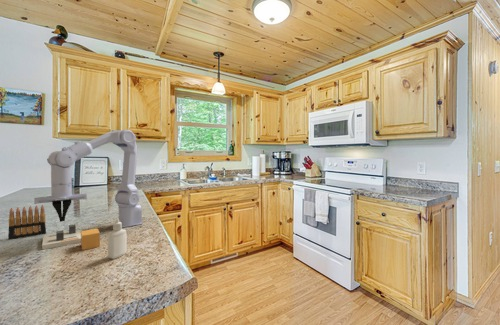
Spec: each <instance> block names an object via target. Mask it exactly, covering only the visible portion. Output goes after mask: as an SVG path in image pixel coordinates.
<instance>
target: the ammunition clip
mask: <svg viewBox="0 0 500 325" xmlns="http://www.w3.org/2000/svg"><path fill="white" fill-rule="evenodd" d="M21 211H22V212H21ZM21 213H22V214H21ZM45 213H46V212H45V206H44V205H43V204H42V205H41V206H40V212H39V206H38V204H35V208H34V212H33V208H32V206H31V205H30V206H29V208H28V214H27V209H26V207H25V206H23V207H22V210H20V207H19V206H18V207H16V211H15V213H14V209H13V207H11V208H10V209H9V215H8V235H7V237H8V238H7V239H8V240H9V241H10V240H15V239H16V240H17V239H23V238H29V237H34V236H35V237H36V236H42V235H43V236H44V235H47V227H46V226H47V225H46V214H45Z"/></svg>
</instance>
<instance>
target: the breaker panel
mask: <svg viewBox="0 0 500 325" xmlns="http://www.w3.org/2000/svg"><path fill="white" fill-rule="evenodd" d="M63 232H64V240H59V241H56V232H54V233H46V234H43V237H42V238H43V239H42V244H41V250H42V251H43V250H48V249H54V248H58V247H63V246H68V245H69V246H70V245H74V244H81V230H80V229H76V233H72V234H69V230H67V231H63Z"/></svg>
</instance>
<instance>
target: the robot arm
mask: <svg viewBox="0 0 500 325" xmlns="http://www.w3.org/2000/svg"><path fill="white" fill-rule="evenodd" d="M109 143H112V144H113V145H115V146H117V147H118V148H120V149H121V150H122V151H123V162H122V173H121V184H120V186H119V187H117V191H116V193H115V195H114V201H115V202H116V203H117V206H118V219H119V222H121V223H122V228H128V227H132V226H139V225H143V221H142V220H143V217H142V216H143V215H142V214H143V211H142V206H141V204H139V202H140V195H139V189H138V188H137V186H136V184H135V183H136V174H137V162H138V145H137V135H135V134H134V132H133V131H132V130H131V129H123V130H119V129H118V130H115V129H113V130H112V131H108V132H106V133H103V134H101V135H99V136H98V137H95V138H94V139H91V140H90V141H87V142H86V141H80V140H77V141H75V142H74V144H72V145H70V146H67V147H64V146H63V147H62V148H61V150H57V151H56V150H55V151H52V152H51V153H50V154H49V156H48V158H46V161H47V164H48V165H49V166H50V178H51V179H50V185H51V186H50V187H51V188H50V189H51V191H50V192H51V195H49V196H41V197H40V196H39V197H34V199H33V200H34V201H33V202H34V205H39V204H46V203H47V204H48V203H51V204H52V207H53V209H54V210H55V211H56V214H57V215H58V218H59V222H65V221H66V215H67V212H68V210H69V208H70V206H71V204H72V201H79V200H87V193H72V192H73V186H72V185H73V184H72V180H73V179H72V178H73V177H72V176H73V175H72V166H73V165H74V164H75V162H77V161H79V160H81V159H83V158H85V157H87V156H89V155H91V154H92V153H93V150H95V149H97V148H99V147H101V146H104V145H106V144H109Z"/></svg>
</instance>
